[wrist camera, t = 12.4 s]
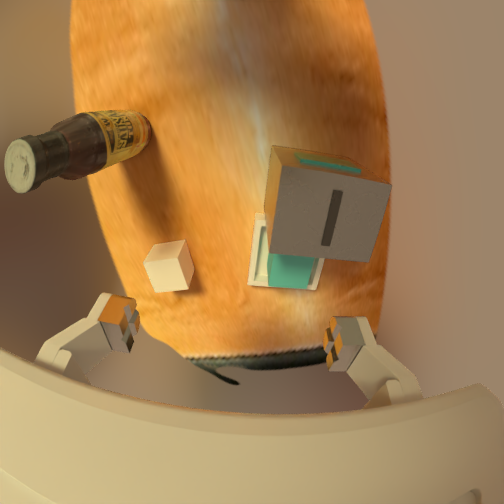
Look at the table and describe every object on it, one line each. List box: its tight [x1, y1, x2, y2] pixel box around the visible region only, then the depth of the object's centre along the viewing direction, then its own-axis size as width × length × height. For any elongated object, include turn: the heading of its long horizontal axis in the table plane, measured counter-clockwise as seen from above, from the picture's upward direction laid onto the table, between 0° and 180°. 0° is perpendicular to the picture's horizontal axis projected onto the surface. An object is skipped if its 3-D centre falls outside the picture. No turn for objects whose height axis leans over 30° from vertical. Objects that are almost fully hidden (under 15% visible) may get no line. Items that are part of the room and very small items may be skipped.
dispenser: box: [264, 146, 392, 262], centre depth 28 cm, size 8×10×12 cm
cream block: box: [143, 239, 195, 293], centre depth 37 cm, size 5×5×5 cm
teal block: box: [267, 253, 315, 289], centre depth 35 cm, size 5×5×5 cm
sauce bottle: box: [5, 110, 151, 193], centre depth 21 cm, size 7×6×20 cm
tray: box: [248, 213, 325, 290], centre depth 37 cm, size 10×10×2 cm
